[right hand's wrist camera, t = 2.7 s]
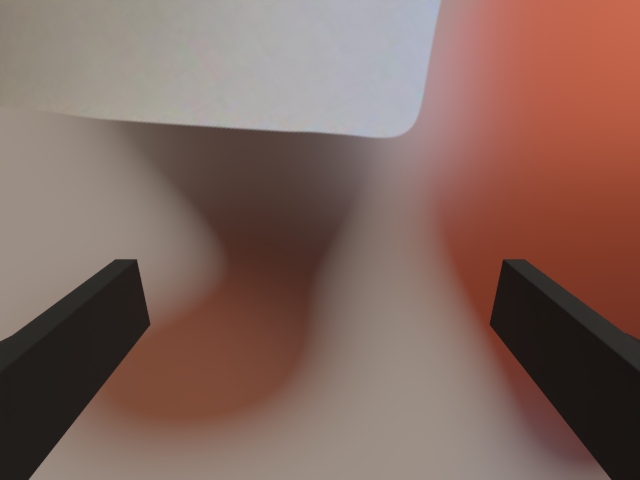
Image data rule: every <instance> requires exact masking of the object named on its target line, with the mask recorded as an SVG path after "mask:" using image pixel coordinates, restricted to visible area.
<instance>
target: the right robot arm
mask: <svg viewBox="0 0 640 480" xmlns="http://www.w3.org/2000/svg"><path fill="white" fill-rule="evenodd" d="M149 326H150V320H149V315H148V311H147V306H146V301H145V297H144V292H143V287H142V282H141V277H140V272H139V268H138V263H137V260H136V259H116V260H114V261H113V262H111V263H110V264H109V265H107V266H106V267H104V268H103V269H102V270H100V271H99V272H98V273H96V274H95V275H94V276H92V277H91V278H90V279H88V280H87V281H85V282H84V283H83V284H82V285H80V286H79V287H77V288H76V289H75V290H73V291H72V292H71V293H69V294H68V295H66V296H65V297H64V298H62V299H61V300H60V301H58V302H57V303H56V304H54V305H53V306H52V307H50V308H49V309H48V310H46V311H45V312H44V313H42V314H41V315H39V316H38V317H37V318H35V319H34V320H33V321H31V322H30V323H29V324H27V325H26V326H24V327H23V328H22V329H20V330H19V331H18V332H16V333H15V334H14V335H12V336H10V337H8V338H6V339H4V340H2V341H0V480H29V478H30V477H31V476H32V475H33V473H34V472H35V471H36V470H37V468H38V467H39V466H40V464H41V463H42V462H43V461H44V459H45V458H46V457H47V455H48V454H49V453H50V452H51V450H52V449H53V448H54V447H55V445H56V444H57V443H58V442H59V440H60V439H61V438H62V436H63V435H64V434H65V433H66V431H67V430H68V429H69V428H70V426H71V425H72V424H73V422H74V421H75V420H76V419H77V417H78V416H79V415H80V413H81V412H82V411H83V410H84V408H85V407H86V406H87V405H88V403H89V402H90V401H91V399H92V398H93V397H94V396H95V394H96V393H97V392H98V391H99V389H100V388H101V387H102V386H103V384H104V383H105V382H106V380H107V379H108V378H109V377H110V375H111V374H112V373H113V372H114V370H115V369H116V368H117V366H118V365H119V364H120V363H121V361H122V360H123V359H124V357H125V356H126V355H127V354H128V352H129V351H130V350H131V348H132V347H133V346H134V345H135V344H136V342H137V341H138V340H139V338H140V337H141V336H142V335H143V333H144V332H145V331H146V329H147V328H148V327H149ZM490 326H491V327H492V328H493V329H494V331H495V332H496V333H497V335H498V336H499V337H500V338H501V340H502V341H503V342H504V343H505V345H506V346H507V347H508V349H509V350H510V351H511V352H512V354H513V355H514V356H515V357H516V359H517V360H518V361H519V363H520V364H521V365H522V366H523V368H524V369H525V370H526V371H527V373H528V374H529V375H530V377H531V378H532V379H533V380H534V382H535V383H536V384H537V386H538V387H539V388H540V389H541V391H542V392H543V393H544V394H545V396H546V397H547V398H548V399H549V401H550V402H551V403H552V405H553V406H554V407H555V408H556V410H557V411H558V412H559V413H560V415H561V416H562V417H563V419H564V420H565V421H566V422H567V424H568V425H569V426H570V428H571V429H572V430H573V431H574V433H575V434H576V435H577V436H578V438H579V439H580V440H581V442H582V443H583V444H584V445H585V447H586V448H587V449H588V450H589V452H590V453H591V454H592V456H593V457H594V458H595V459H596V461H597V462H598V463H599V464H600V466H601V467H602V468H603V469H604V471H605V472H606V473H607V475H608V476H609V477H610V478H611V480H640V340H639V339H637V338H635V337H633V336H631V335H629V334H627V333H624V332H622V331H621V330H620V329H618V328H617V327H616V326H614V325H613V324H611V323H610V322H609V321H607V320H606V319H605V318H603V317H602V316H601V315H599V314H598V313H597V312H595V311H594V310H592V309H591V308H590V307H588V306H587V305H586V304H584V303H583V302H582V301H580V300H579V299H578V298H576V297H575V296H573V295H572V294H571V293H569V292H568V291H567V290H565V289H564V288H563V287H561V286H560V285H559V284H557V283H556V282H554V281H553V280H552V279H550V278H549V277H548V276H546V275H545V274H544V273H542V272H541V271H540V270H538V269H537V268H536V267H534V266H533V265H531V264H530V263H529V262H527V261H526V260H524V259H504V260H503V263H502V268H501V272H500V277H499V282H498V287H497V292H496V297H495V301H494V306H493V311H492V315H491V320H490Z"/></svg>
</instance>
